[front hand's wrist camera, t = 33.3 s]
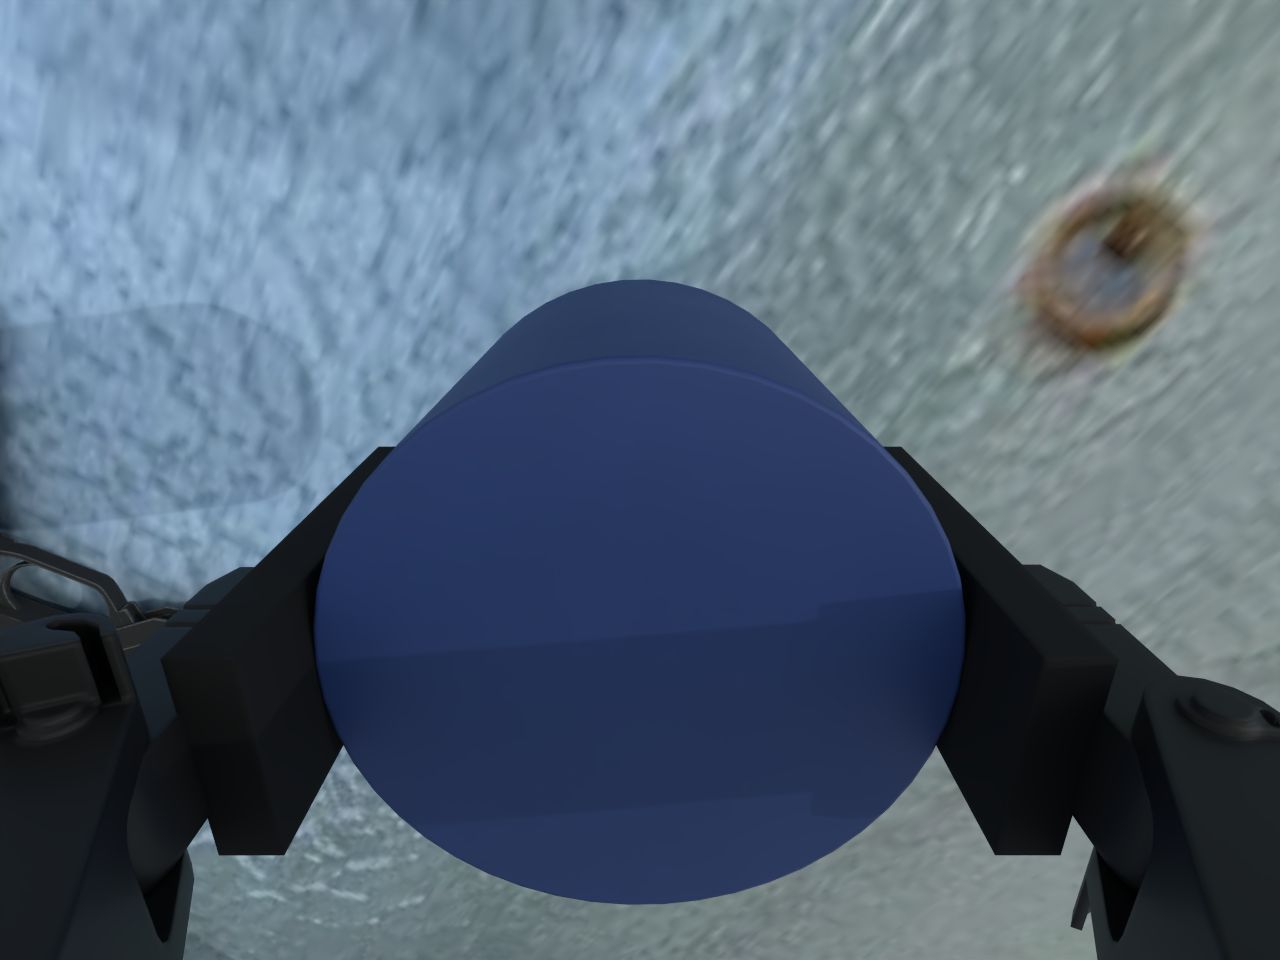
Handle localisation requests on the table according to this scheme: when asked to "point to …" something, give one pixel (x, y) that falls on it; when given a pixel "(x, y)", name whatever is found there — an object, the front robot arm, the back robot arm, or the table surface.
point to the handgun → (130, 621)
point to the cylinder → (639, 608)
